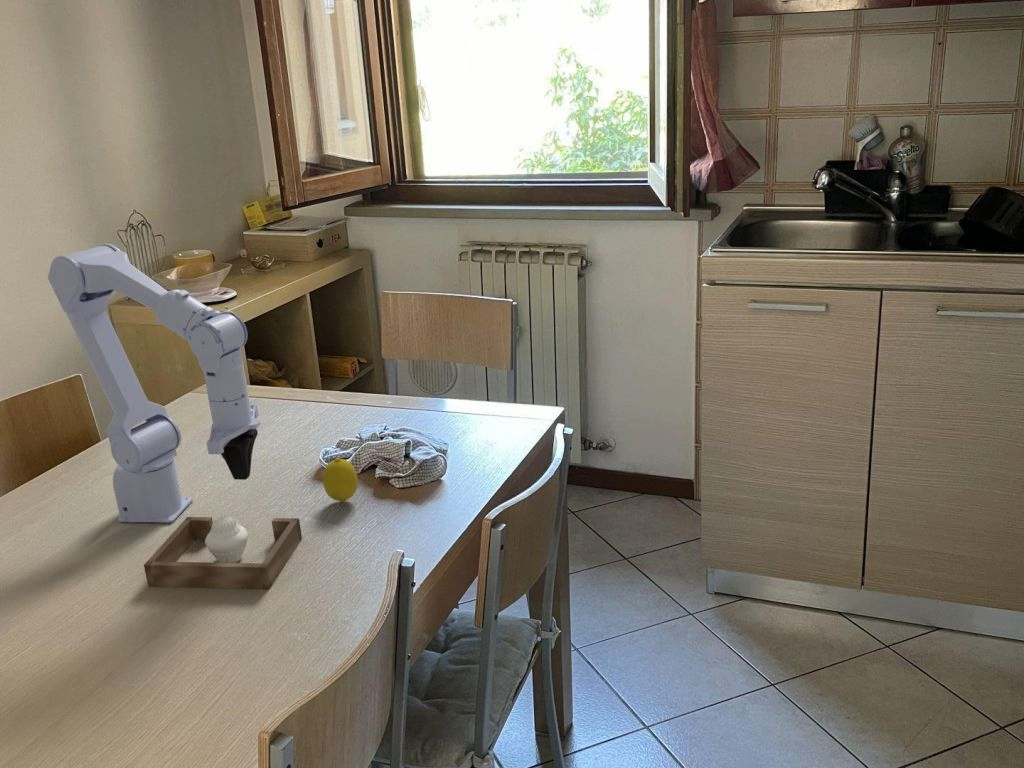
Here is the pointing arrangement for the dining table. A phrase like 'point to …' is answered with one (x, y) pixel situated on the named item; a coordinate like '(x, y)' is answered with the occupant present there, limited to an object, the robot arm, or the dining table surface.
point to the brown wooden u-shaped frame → (219, 575)
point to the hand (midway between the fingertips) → (241, 477)
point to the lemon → (340, 480)
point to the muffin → (226, 540)
